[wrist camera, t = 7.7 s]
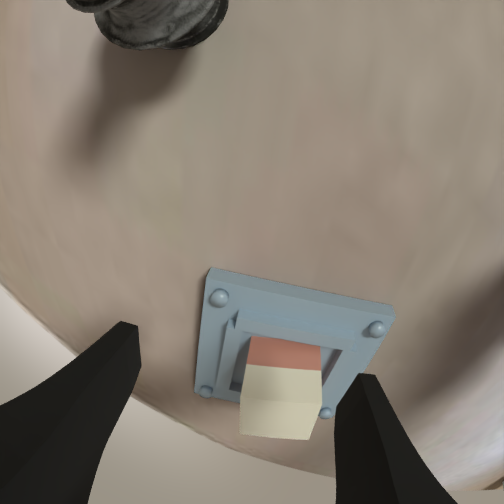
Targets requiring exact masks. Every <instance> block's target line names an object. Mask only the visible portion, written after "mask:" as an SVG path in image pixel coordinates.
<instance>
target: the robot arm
mask: <svg viewBox="0 0 504 504" xmlns="http://www.w3.org/2000/svg"><path fill="white" fill-rule="evenodd" d="M140 368H141V356H140V345H139V333H138V326H136V325H133V324H130V323H126V322H123V321H120V322H118V323H117V324H116V325H115V326H114V327H112V328H111V329H110V330H109V331H108V332H107V333H106V334H104V335H103V336H102V337H101V338H100V339H98V340H97V341H96V342H95V343H94V344H93V345H91V346H90V347H89V348H88V349H86V350H85V351H84V352H83V353H81V354H80V355H79V356H78V357H76V358H75V359H74V360H73V361H71V362H70V363H69V364H67V365H66V366H65V367H63V368H62V369H61V370H59V371H58V372H56V373H55V374H54V375H52V376H51V377H49V378H48V379H46V380H45V381H43V382H42V383H40V384H39V385H38V386H36V387H34V388H32V389H31V390H29V391H27V392H25V393H24V394H22V395H20V396H18V397H16V398H14V399H13V400H10V401H9V402H7V403H4V404H2V405H0V504H88V500H89V495H90V492H91V488H92V485H93V481H94V478H95V474H96V471H97V468H98V465H99V462H100V459H101V456H102V453H103V450H104V448H105V445H106V443H107V441H108V438H109V437H110V435H111V433H112V431H113V429H114V427H115V425H116V423H117V421H118V419H119V417H120V415H121V413H122V411H123V409H124V407H125V405H126V403H127V401H128V399H129V397H130V395H131V393H132V390H133V388H134V385H135V382H136V380H137V377H138V374H139V371H140ZM334 442H335V464H336V504H457V502H456V501H455V500H454V499H453V498H452V497H451V496H450V495H449V494H448V492H446V490H445V489H444V488H443V487H442V486H441V484H440V483H439V482H438V481H437V479H436V478H435V477H434V475H433V474H432V473H431V471H430V470H429V469H428V467H427V466H426V464H425V463H424V461H423V460H422V459H421V457H420V455H419V454H418V452H417V451H416V449H415V447H414V446H413V444H412V443H411V441H410V439H409V437H408V436H407V434H406V432H405V430H404V429H403V427H402V425H401V423H400V421H399V420H398V418H397V416H396V414H395V412H394V410H393V408H392V406H391V404H390V403H389V401H388V399H387V397H386V395H385V393H384V391H383V389H382V387H381V385H380V383H379V381H378V380H377V378H376V376H375V375H372V374H364V373H358V374H357V376H356V377H355V379H354V380H353V382H352V384H351V385H350V387H349V388H348V390H347V391H346V393H345V394H344V396H343V397H342V399H341V400H340V402H339V403H338V404H337V406H336V413H335V427H334Z"/></svg>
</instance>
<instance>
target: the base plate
mask: <svg viewBox="0 0 504 504" xmlns="http://www.w3.org/2000/svg"><path fill="white" fill-rule="evenodd" d="M395 318H396V316H395V313H394V310H393V307H392V305H387V304H382V303H376V302H371V301H366V300H361V299H356V298H351V297H347V296H342V295H337V294H332V293H327V292H322V291H317V290H313V289H308V288H303V287H298V286H294V285H289V284H284V283H280V282H275V281H270V280H266V279H261V278H257V277H252V276H248V275H243V274H238V273H234V272H230V271H225V270H221V269H216V268H212V267H211V268H210V271H209V273H208V275H207V278H206V284H205V293H204V301H203V310H202V319H201V328H200V337H199V347H198V357H197V367H196V378H195V389H194V393H197V394H199V395H200V396H201V397H203V398H210V397H214V398H218V399H223V400H227V401H232V402H237V403H240V396H241V391H242V385H243V380H244V374H245V369H246V363H247V358H248V353H249V347H250V342H251V336H258V337H268V338H278V339H284V340H289V341H294V342H299V343H305V344H310V345H316V346H320V352H321V379H322V406H321V409H320V411H319V414H318V416H320V418H321V419H329V418H331V417H333V416H334V414H335V413H336V406H337V404H338V403H339V402H340V400H341V399H342V397H343V396H344V394H345V393H346V391H347V390H348V388H349V387H350V385H351V384H352V382H353V380H354V379H355V377H356V376H357V374H358V373H363V372H364V370H365V369H366V367H367V366H368V364H369V362H370V361H371V359H372V358H373V356H374V354H375V353H376V351H377V349H378V348H379V346H380V344H381V343H382V341H383V339H384V337H385V336H386V334H387V332H388V331H389V329H390V327H391V325H392V323H393V322H394V320H395Z"/></svg>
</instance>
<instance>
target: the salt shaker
mask: <svg viewBox="0 0 504 504" xmlns="http://www.w3.org/2000/svg"><path fill="white" fill-rule="evenodd" d="M66 1H67V3H68V4H69V5H70V6H71V7H72V8H73V9H76V10H78V11H81V12H84V13H94V16H95V21H96V23H97V25H98V27H99V29H100V31H101V33H102V34H103V35H104V36H105V37H106V38H107V39H108V40H109V41H111V42H112V43H114V44H116V45H119V46H121V47H123V48H128V49H135V50H146V49H156V48H163V49H169V50H171V49H183V48H186V47H189V46H193V45H195V44H197V43H199V42H201V41H202V40H204V39H206V38H207V37H208V36H209V35H211V34H212V33H213V32H214V31H215V30H216V29H217V28H218V26H219V25H220V23H221V22H222V21H223V19H224V17H225V14H226V11H227V9H228V1H229V0H66Z"/></svg>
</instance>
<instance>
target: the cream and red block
mask: <svg viewBox="0 0 504 504" xmlns="http://www.w3.org/2000/svg"><path fill="white" fill-rule="evenodd" d="M321 406H322V379H321V352H320V346H316V345H310V344H305V343H299V342H294V341H289V340H284V339H278V338H268V337H258V336H251V342H250V347H249V353H248V358H247V363H246V369H245V374H244V380H243V385H242V391H241V396H240V434H244V435H252V436H261V437H271V438H283V439H298V440H309V437H310V435H311V432H312V430H313V427H314V425H315V422H316V419H317V417H318V414H319V411H320V409H321Z"/></svg>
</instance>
